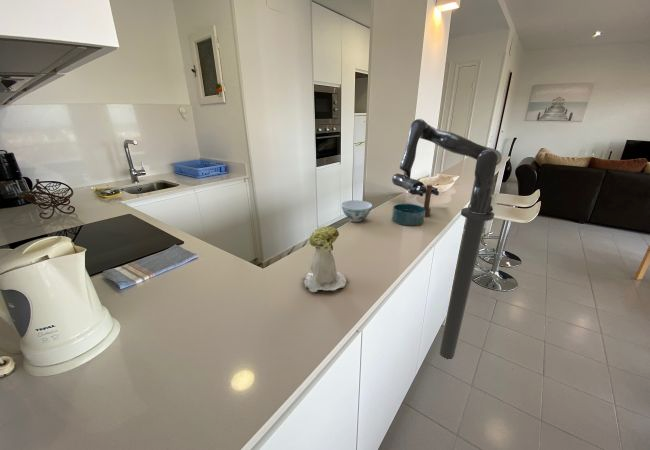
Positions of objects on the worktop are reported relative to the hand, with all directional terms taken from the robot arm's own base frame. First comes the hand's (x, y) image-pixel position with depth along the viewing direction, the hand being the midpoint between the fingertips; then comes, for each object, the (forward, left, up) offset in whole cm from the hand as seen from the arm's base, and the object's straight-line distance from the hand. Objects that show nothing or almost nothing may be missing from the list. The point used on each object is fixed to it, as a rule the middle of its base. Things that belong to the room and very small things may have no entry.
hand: (430, 193), depth 139 cm
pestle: (+1, -1, -12) cm, 12 cm away
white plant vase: (+35, +74, -12) cm, 82 cm away
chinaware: (+35, +15, -12) cm, 40 cm away
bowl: (+10, +10, -12) cm, 18 cm away
